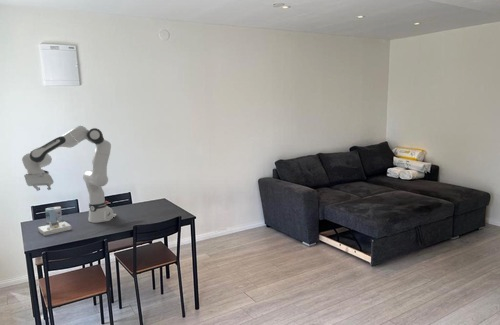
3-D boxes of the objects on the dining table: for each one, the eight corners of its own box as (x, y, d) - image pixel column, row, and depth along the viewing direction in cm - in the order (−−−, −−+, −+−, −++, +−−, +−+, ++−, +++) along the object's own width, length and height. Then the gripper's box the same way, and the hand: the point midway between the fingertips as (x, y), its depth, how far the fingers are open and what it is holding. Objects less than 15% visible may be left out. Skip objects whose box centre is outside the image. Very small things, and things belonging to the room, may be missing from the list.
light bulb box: (46, 223, 275) (45, 210, 274) (46, 221, 281) (45, 208, 279) (62, 221, 281) (61, 208, 279) (61, 219, 287) (60, 206, 285)
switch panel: (38, 231, 260) (37, 222, 259) (65, 225, 272) (64, 217, 271) (44, 235, 251) (43, 227, 250) (71, 229, 263) (70, 221, 262)
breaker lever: (51, 226, 261) (48, 211, 262) (56, 225, 263) (53, 210, 264) (52, 225, 259) (49, 211, 260) (57, 224, 262) (54, 210, 262)
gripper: (26, 171, 251) (34, 188, 248) (50, 171, 271) (58, 186, 268) (20, 176, 252) (28, 193, 250) (44, 176, 272) (52, 191, 269)
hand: (44, 189), depth 259 cm, fingers open, 8 cm apart
